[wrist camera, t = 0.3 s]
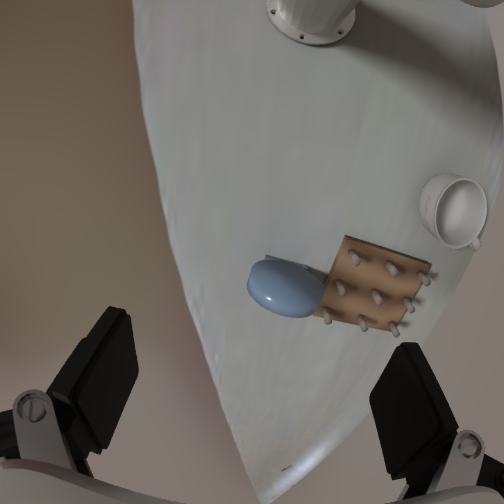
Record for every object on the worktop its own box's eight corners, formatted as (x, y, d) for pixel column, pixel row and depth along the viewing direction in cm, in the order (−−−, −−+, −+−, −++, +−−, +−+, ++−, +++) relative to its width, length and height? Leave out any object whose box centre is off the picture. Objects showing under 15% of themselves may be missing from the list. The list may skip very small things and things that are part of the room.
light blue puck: (253, 251, 47) (248, 291, 37) (318, 268, 48) (330, 311, 37) (249, 264, 48) (243, 306, 38) (313, 280, 49) (323, 324, 38)
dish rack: (345, 235, 45) (353, 248, 40) (426, 261, 46) (439, 275, 42) (312, 310, 51) (315, 328, 47) (390, 326, 53) (397, 343, 48)
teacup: (401, 188, 41) (424, 203, 34) (449, 155, 38) (477, 165, 31) (430, 254, 46) (451, 277, 38) (473, 223, 42) (498, 241, 35)
